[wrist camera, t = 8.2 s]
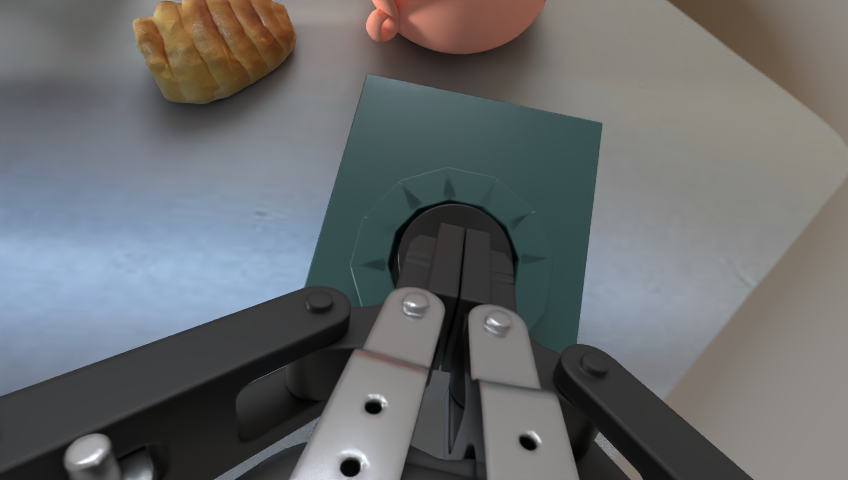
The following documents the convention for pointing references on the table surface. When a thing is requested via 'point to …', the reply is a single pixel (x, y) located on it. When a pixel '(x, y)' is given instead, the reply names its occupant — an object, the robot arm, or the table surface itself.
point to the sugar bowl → (453, 22)
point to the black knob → (458, 217)
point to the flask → (463, 195)
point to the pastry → (213, 46)
